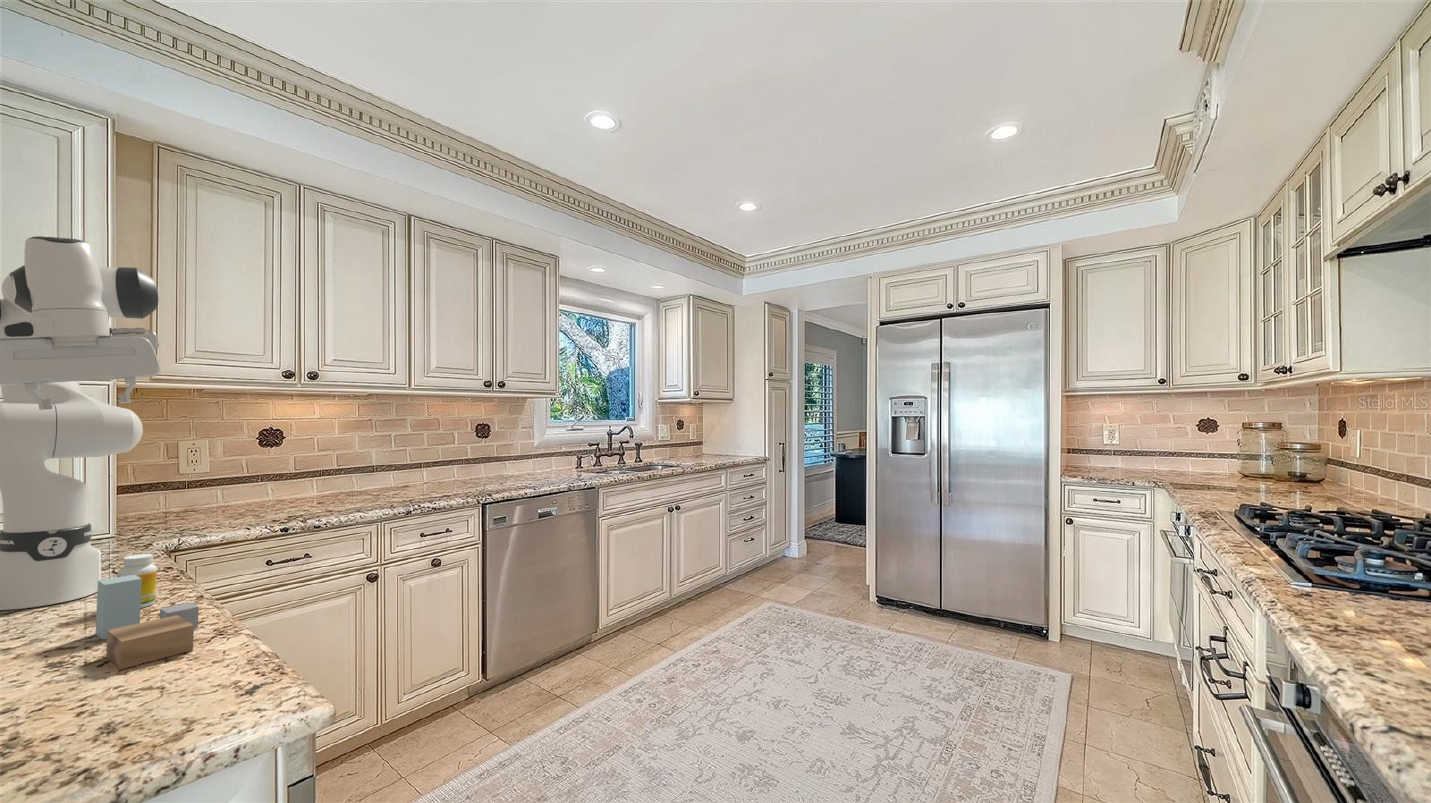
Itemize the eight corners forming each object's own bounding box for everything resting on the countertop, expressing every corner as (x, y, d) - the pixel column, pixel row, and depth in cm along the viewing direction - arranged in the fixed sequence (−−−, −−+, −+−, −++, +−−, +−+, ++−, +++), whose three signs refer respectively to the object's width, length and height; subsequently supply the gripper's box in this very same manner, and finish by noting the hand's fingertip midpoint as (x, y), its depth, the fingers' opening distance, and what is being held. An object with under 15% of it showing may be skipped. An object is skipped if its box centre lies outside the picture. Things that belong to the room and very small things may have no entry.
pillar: (95, 633, 95) (97, 580, 95) (132, 626, 99) (134, 574, 99) (102, 639, 93) (104, 584, 93) (139, 631, 96) (141, 578, 96)
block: (159, 632, 96) (160, 608, 96) (189, 625, 100) (190, 602, 100) (166, 637, 94) (167, 613, 94) (197, 629, 97) (198, 606, 98)
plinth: (106, 656, 86) (107, 630, 86) (176, 639, 93) (177, 615, 93) (120, 669, 82) (121, 641, 82) (192, 650, 89) (193, 625, 89)
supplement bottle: (107, 610, 106) (109, 559, 106) (136, 601, 111) (138, 552, 112) (135, 610, 106) (137, 559, 106) (163, 601, 111) (165, 553, 112)
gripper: (155, 329, 109) (167, 400, 110) (-15, 332, 94) (0, 413, 95) (156, 325, 105) (168, 399, 105) (-23, 327, 90) (-7, 413, 91)
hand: (87, 406), depth 100 cm, fingers open, 8 cm apart
